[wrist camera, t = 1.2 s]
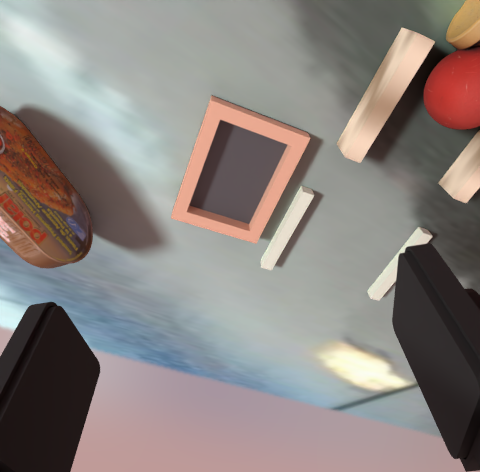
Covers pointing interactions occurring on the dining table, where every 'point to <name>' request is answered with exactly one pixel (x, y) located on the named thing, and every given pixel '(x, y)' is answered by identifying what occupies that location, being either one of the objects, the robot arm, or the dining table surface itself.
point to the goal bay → (292, 221)
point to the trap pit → (237, 170)
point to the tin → (38, 202)
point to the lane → (384, 101)
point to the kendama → (458, 74)
